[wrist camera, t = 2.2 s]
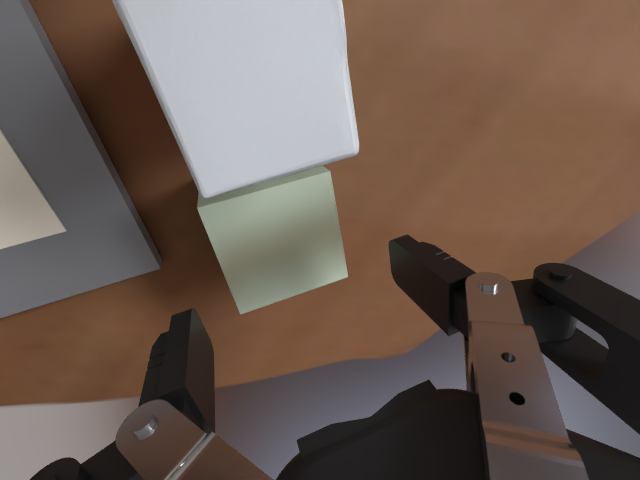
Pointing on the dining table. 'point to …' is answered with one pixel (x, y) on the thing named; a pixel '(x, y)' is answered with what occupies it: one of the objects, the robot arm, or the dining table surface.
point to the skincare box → (248, 84)
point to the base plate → (56, 181)
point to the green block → (276, 237)
